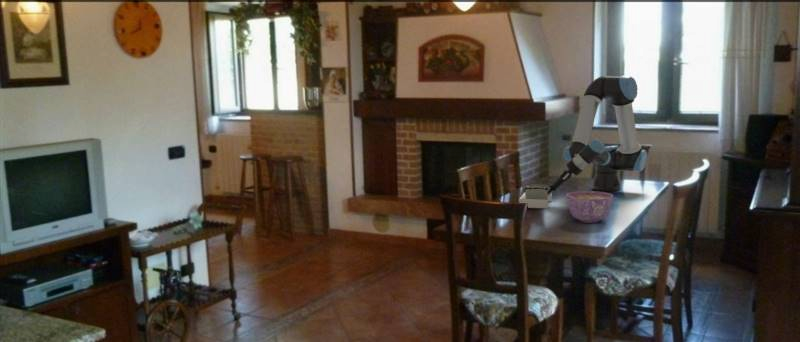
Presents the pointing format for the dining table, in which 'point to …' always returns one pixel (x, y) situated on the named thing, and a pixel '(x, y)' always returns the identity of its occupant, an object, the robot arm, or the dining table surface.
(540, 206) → the frame
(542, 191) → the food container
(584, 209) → the bowl of food
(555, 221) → the dining table surface
